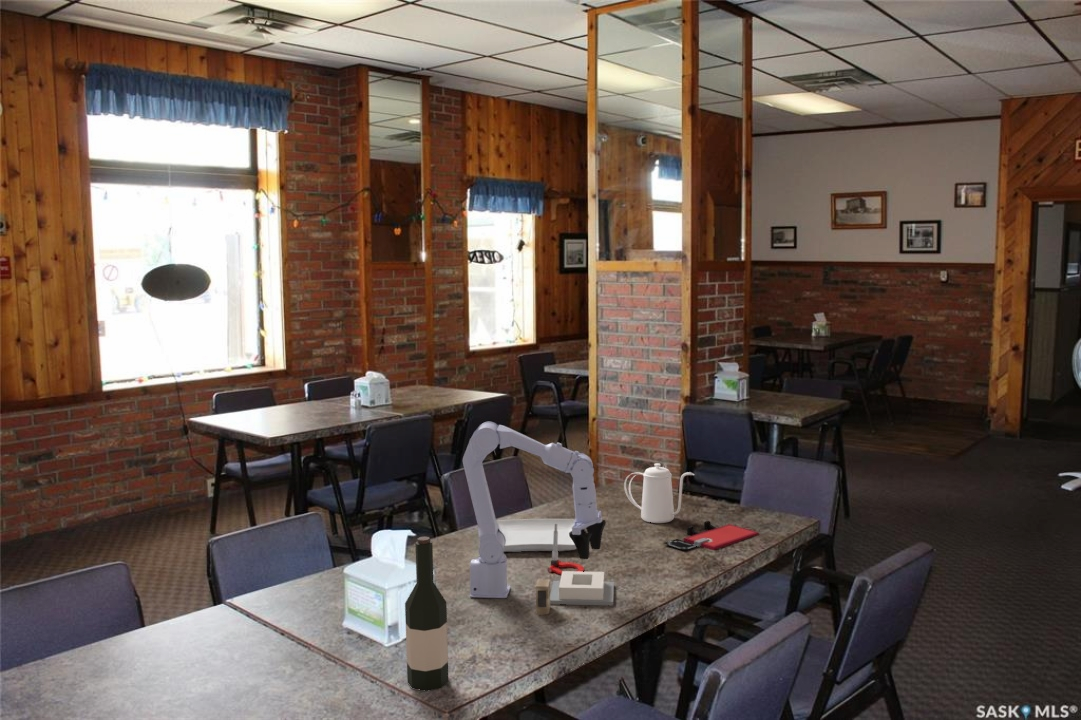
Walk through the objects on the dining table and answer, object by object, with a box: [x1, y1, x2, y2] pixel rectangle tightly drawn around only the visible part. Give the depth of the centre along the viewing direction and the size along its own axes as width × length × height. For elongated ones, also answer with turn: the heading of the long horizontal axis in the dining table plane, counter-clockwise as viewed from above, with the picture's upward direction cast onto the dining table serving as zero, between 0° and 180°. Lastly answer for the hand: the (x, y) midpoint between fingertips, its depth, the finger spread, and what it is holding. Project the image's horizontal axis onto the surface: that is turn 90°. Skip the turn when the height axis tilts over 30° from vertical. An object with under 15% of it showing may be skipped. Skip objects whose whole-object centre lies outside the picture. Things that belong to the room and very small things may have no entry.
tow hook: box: [547, 524, 585, 576], centre depth 246 cm, size 8×13×9 cm
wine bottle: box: [404, 536, 449, 692], centre depth 180 cm, size 8×8×30 cm
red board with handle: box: [663, 520, 760, 551], centre depth 273 cm, size 30×3×15 cm
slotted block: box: [550, 570, 615, 607], centre depth 228 cm, size 16×14×4 cm
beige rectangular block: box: [535, 578, 551, 615], centre depth 218 cm, size 3×5×7 cm, turn 175°
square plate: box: [496, 518, 577, 553], centre depth 273 cm, size 27×27×4 cm
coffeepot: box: [623, 462, 695, 524], centre depth 294 cm, size 11×25×19 cm, turn 58°
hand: (590, 553), depth 229 cm, fingers open, 7 cm apart
